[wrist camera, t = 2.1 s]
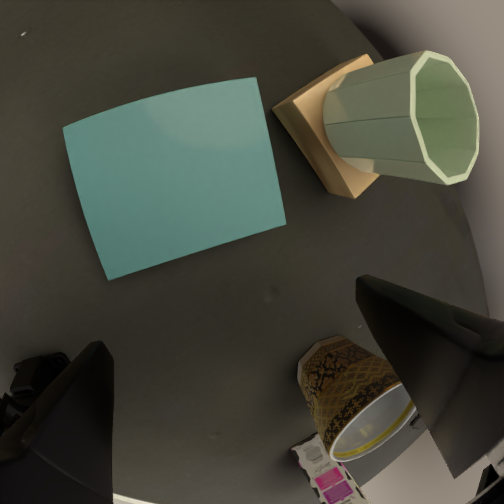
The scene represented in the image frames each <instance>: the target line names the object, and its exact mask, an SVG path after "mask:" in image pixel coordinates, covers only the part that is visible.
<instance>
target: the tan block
mask: <svg viewBox="0 0 504 504" xmlns="http://www.w3.org/2000/svg"><path fill="white" fill-rule="evenodd" d="M372 64H373V62H372V61H371V59H370V57H369V56H368V54H364V55H361V56H359V57H356V58H353V59H351V60H348V61H346V62H343V63H341V64H339V65H337V66H336V67H334V68H332V69H331V70H329V71H327V72H326V73H324V74H323V75H321V76H319V77H318V78H316V79H315V80H313V81H312V82H310V83H308V84H307V85H305V86H304V87H302V88H301V89H299V90H298V91H296V92H295V93H293V94H292V95H290V96H289V97H287V98H286V99H285V100H283V101H282V102H280V103H279V104H277V105H276V106H275V107H273V108H272V111H273V112H274V113H275V115H276V116H277V117H278V119H279V120H280V121H281V123H282V124H283V126H284V127H285V128H286V130H287V131H288V133H289V134H290V135H291V137H292V138H293V140H294V141H295V142H296V144H297V145H298V147H299V148H300V150H301V151H302V153H303V154H304V156H305V157H306V159H307V160H308V162H309V163H310V165H311V166H312V168H313V169H314V171H315V172H316V174H317V175H318V177H319V178H320V180H321V181H322V183H323V185H324V186H325V188H326V189H327V191H328V193H332V194H336V195H340V196H344V197H349V198H353V199H356V198H357V197H358V196H359V195H360V194H361V193H362V192H363V191H364V190H365V189H366V188H367V187H368V186H369V185H370V184H371V183H372V182H373V181H374V180H375V179H376V178H377V177H378V176H379V175H380V174H375V173H367V172H362V171H360V170H359V169H357V168H355V167H352V166H351V165H349V164H347V163H346V162H345V161H343V160H342V159H341V158H340V157H339V156H338V154H337V153H336V152H335V151H334V149H333V147H332V146H331V144H330V142H329V140H328V137H327V135H326V132H325V128H324V122H323V105H324V100H325V97H326V93H327V91H328V90H329V88H330V87H331V86H332V84H333V83H334V82H335V81H336V80H338V79H339V78H341V76H342V75H343V74H345V73H348V72H351V71H354V70H357V69H360V68H363V67H366V66H369V65H372Z"/></svg>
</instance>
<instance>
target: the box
mask: <svg viewBox="0 0 504 504" xmlns="http://www.w3.org/2000/svg"><path fill="white" fill-rule="evenodd" d="M63 134H64V139H65V144H66V148H67V153H68V157H69V162H70V166H71V170H72V174H73V178H74V181H75V185H76V189H77V192H78V196H79V199H80V203H81V206H82V209H83V212H84V216H85V219H86V222H87V225H88V228H89V231H90V234H91V237H92V239H93V242H94V245H95V248H96V251H97V253H98V256H99V259H100V261H101V264H102V266H103V269H104V271H105V274H106V276H107V279H108V280H112V279H115V278H118V277H121V276H124V275H127V274H130V273H133V272H136V271H139V270H142V269H145V268H148V267H152V266H155V265H158V264H161V263H164V262H167V261H170V260H173V259H176V258H179V257H183V256H186V255H189V254H192V253H195V252H198V251H201V250H205V249H208V248H211V247H214V246H217V245H221V244H224V243H227V242H230V241H233V240H237V239H240V238H243V237H246V236H250V235H253V234H256V233H259V232H263V231H266V230H269V229H272V228H276V227H279V226H282V225H286V220H285V214H284V209H283V203H282V198H281V193H280V187H279V182H278V177H277V172H276V167H275V162H274V157H273V152H272V147H271V143H270V138H269V133H268V128H267V124H266V119H265V115H264V110H263V106H262V101H261V97H260V92H259V88H258V84H257V79H256V77H251V78H243V79H236V80H229V81H222V82H216V83H210V84H205V85H200V86H195V87H190V88H185V89H180V90H176V91H172V92H168V93H164V94H160V95H156V96H152V97H148V98H145V99H141V100H138V101H134V102H131V103H128V104H125V105H121V106H118V107H115V108H112V109H109V110H107V111H104V112H101V113H98V114H95V115H93V116H90V117H87V118H85V119H82V120H80V121H77V122H75V123H72V124H70V125H68V126H65V127H63Z"/></svg>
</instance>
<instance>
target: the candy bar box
mask: <svg viewBox="0 0 504 504" xmlns="http://www.w3.org/2000/svg"><path fill="white" fill-rule="evenodd" d="M291 451H292V453H293V455H294V457H295V458H296V460H297V462H298V464H299V466H300V467H301V469H302V471H303V473H304V474H305V476H306V478H307V479H308V481H309V483H310V485H311V487H312V488H313V490H314V492H315V493H316V495H317V497H318V499H319V500H320V502H321V504H371V503H370V502H369V500H368V499H367V498H366V496H365V495H364V494H363V492H362V491H361V489H360V488H359V486H358V485H357V484H356V482H355V481H354V479H353V478H352V477H351V475H350V474H349V472H348V471H347V469H346V468H345V467H344V465H343V464H342V462H337V461H334V460H332V459H331V458H330V457H329V455H328V453H327V451H326V449H325V447H324V445H323V443H322V440H321V438H320V436H319V433H317V434H315V435H313V436H312V437H310V438H308V439H306V440H305V441H303V442H301V443H299V444H297V445H295V446H294V447H292V448H291Z"/></svg>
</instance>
